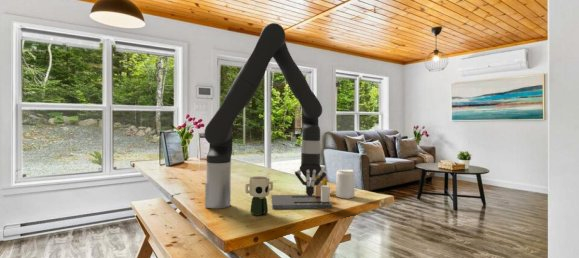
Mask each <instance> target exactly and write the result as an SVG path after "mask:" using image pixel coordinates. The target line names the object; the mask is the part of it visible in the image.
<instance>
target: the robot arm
mask: <svg viewBox="0 0 579 258" xmlns="http://www.w3.org/2000/svg"><path fill="white" fill-rule="evenodd" d="M272 59H274V61H275V62H276V64H277V66H278V67H279V69H280V71H281V73H282V75H283V78H284V79H285V81H286V83H287V85H288V87H289V89H290V91H291V94H292V95H293V97H295V99H296V100H297V101H298V102H299V104H300V105H301V106H300V107H301V123H302V136H301V137H302V139H301V148H300V153H301V155H300V156H301V159H300V166H299V169H298V170H297V171H295V170H294V175H295V176H296V177H297V179H298V180H299V181H300V183H301V184H302V185H303V186H305V193H306V194H305V195H308V196H312V195H315V193H314V186H315V185H318V184H319V183H320V182H321V181H322V179H323V178H324V177H325V176H326V173H325V172H323V171H322V170H321V167H320V165H321V128H320V125H319V118H320V117H321V116H322V114H323V106H322V103H321V102H320V100H319V99H318V97H317V96H316V94H314V92H313V90H312V89H311V87H310V84H309V83H308V81H307V79H306V77H305V75H304V73H302V71H301V69H300V68H299V66H298V65H297V64H296V62H295V61H294V59H293V57H292V55H291V52H290V51H289V47H288V45H287V42H286V32H285V30H284V28H283V26H282V25H281V24H280V23H276V22H272V23H269V24H267V25H265V26H264V27H263V28H262V30H261V32H260V35H259V37H258V40H257V42H256V44H255V46H254V48H253V50H252V51H251V53H250V55H249V57H248V58H247V60H246V61H245V62H244V64H243V65H242V67H241V68H240V71H239V72H238V73H237V75H236V76H235V79H234V80H233V81H232V83H231V85H230V87H229V89H228V91H227V93H226V95H225V97H224V98H223V101H222V102H221V104H220V106H219V108H218V109H217V111H216V112H215V114H214V115H213V116H212V118H211V119H210V120H209V122H208V124H207V125H206V126H205V129H204V138H205V140H206V142H207V143H208V144H209V147H208V148H209V149H208V153H207V154H206V182H205V185H204V187H205V188H204V191H205V192H204V194H205V195H204V199H205V200H204V201H205V202H204V208H205V209H206V208H209V209H225V208H229V207H230V206H231V202H232V200H231V193H232V191H231V189H232V188H231V183H232V182H231V181H232V178H231V177H232V171H231V168H232V156H233V155H232V154H233V143H234V142H233V141H234V140H233V138H234V137H233V135H234V134H233V128H232V126H234V125H233V124H234V123H235V121H236V119H237V117H239V115H240V113H241V112H242V111H243V110H244V109H245V108H246V107H247V105H248V104H249V103H250V102H251V100H252V99H253V98H254V95H255V94H256V93H257V90H258V89H259V87H260V85H261V83H262V81H263V78H264V76H265V73H266V71H267V68H268V65H269V64H270V62H271V60H272ZM319 172H320V174H319ZM318 174H319V175H320V176H319V177H318V178H317V180H316V181H315V177H316V176H317V175H318ZM302 175H303V176H304V177H305V180H304V179H303V177H302Z"/></svg>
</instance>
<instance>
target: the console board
mask: <svg viewBox="0 0 579 258" xmlns="http://www.w3.org/2000/svg"><path fill="white" fill-rule="evenodd" d="M270 199H272V200H271V208H272V210H296V209H297V210H303V209H304V210H305V209H306V210H310V209H313V210H314V209H333V204H332V202H322V201H321V196H315V194H312V196H308V194H271V198H270Z"/></svg>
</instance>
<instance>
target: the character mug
mask: <svg viewBox="0 0 579 258" xmlns="http://www.w3.org/2000/svg"><path fill="white" fill-rule="evenodd" d="M244 186H245V187H244V188H245V191H244V192H245V194H249V196H251V197H252V198H251V203H250V213H251V214H252V215H256V216H258V215H259V216H260V215H262V214H263V215H266V214H268V212H269V211H268V210H269V209H268V208H269V207H268V200H267V197H268V196H269V194H270V191H273V189H274V182H273V181H270V177H269V176H263V175H257V176H251V177H249V183H246V184H245V185H244Z"/></svg>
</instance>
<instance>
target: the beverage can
mask: <svg viewBox="0 0 579 258" xmlns="http://www.w3.org/2000/svg"><path fill="white" fill-rule="evenodd" d="M355 176H356V174H355V171H354V169H350V168H340V169H337V170H336V176H335V181H336V182H335V183H336V184H335V185H336V188H335V196H336V197H338V198H340V199H342V200H343V199H345V200H348V199H352V198H354V197H355V188H356V187H355V185H356V183H355V182H356V177H355Z"/></svg>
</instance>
